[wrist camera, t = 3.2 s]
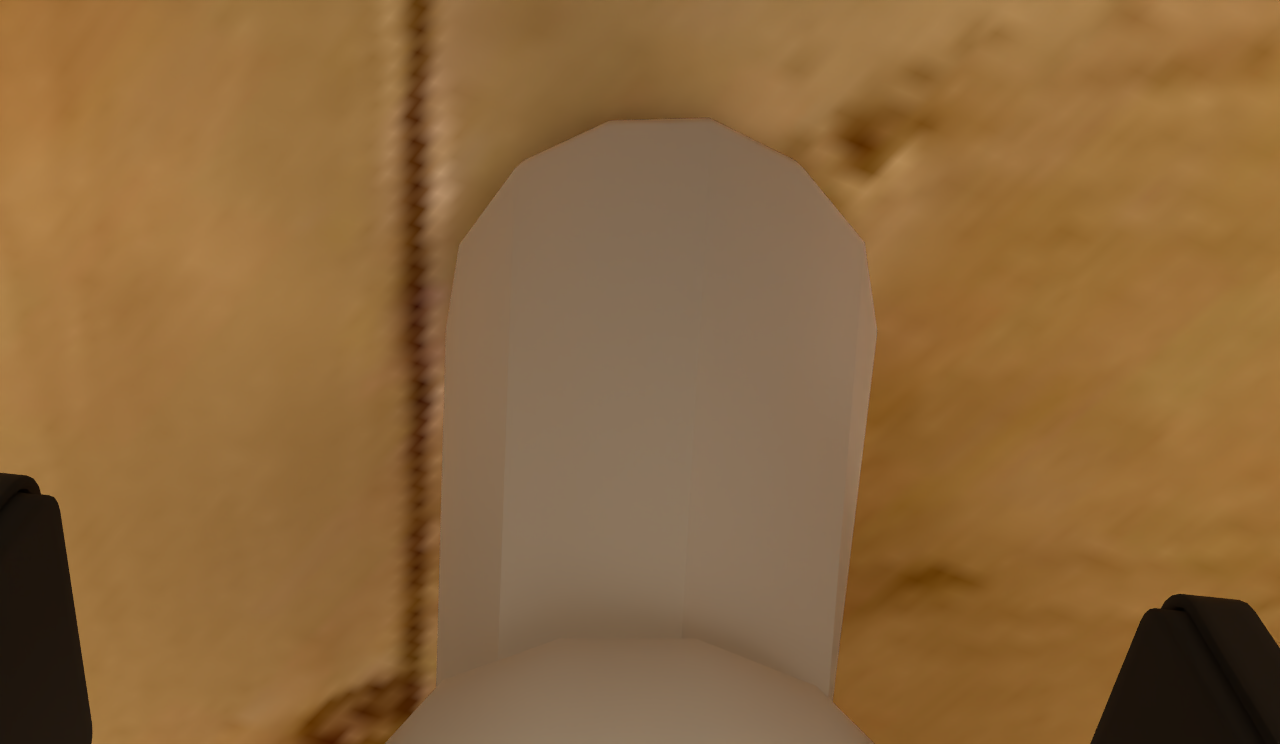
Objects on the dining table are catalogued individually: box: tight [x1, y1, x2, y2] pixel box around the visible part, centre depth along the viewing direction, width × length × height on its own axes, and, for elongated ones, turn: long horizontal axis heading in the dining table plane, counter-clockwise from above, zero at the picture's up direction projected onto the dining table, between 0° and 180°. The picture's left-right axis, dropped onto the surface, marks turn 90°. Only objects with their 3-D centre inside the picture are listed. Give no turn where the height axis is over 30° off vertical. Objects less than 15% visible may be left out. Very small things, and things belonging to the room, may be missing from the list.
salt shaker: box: [385, 118, 877, 744], centre depth 12 cm, size 6×6×13 cm
